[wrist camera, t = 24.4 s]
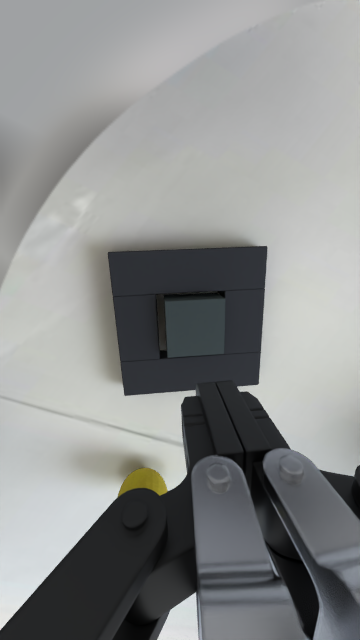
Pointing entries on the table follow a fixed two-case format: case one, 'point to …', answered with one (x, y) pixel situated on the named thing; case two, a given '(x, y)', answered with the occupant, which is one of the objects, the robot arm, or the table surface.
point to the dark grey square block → (194, 324)
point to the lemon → (144, 481)
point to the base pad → (182, 277)
